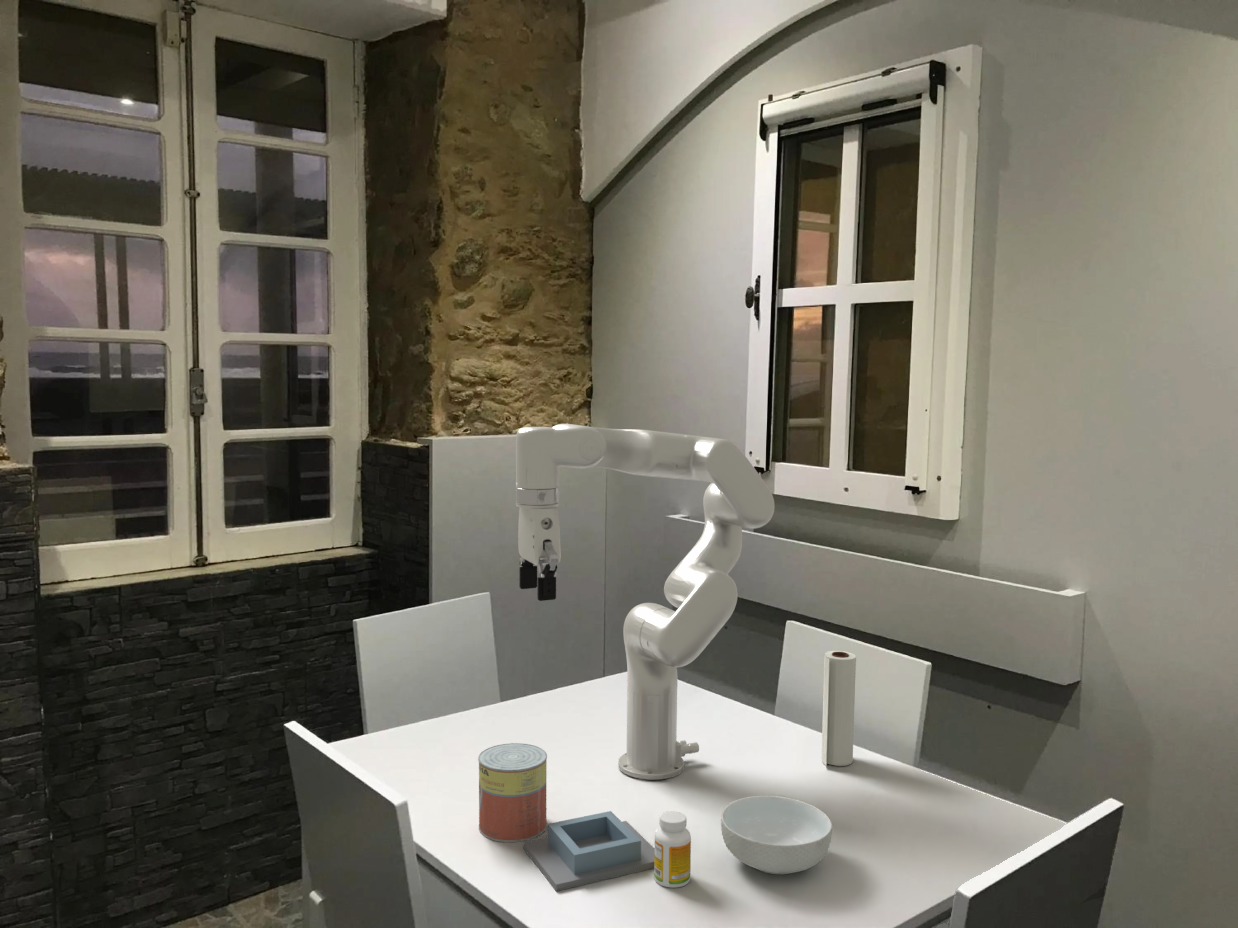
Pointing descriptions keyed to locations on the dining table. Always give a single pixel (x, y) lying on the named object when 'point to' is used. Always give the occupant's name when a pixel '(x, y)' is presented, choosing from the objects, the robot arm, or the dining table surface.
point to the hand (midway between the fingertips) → (537, 593)
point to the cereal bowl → (776, 833)
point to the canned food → (512, 792)
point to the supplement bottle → (672, 850)
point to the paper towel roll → (838, 708)
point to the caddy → (589, 850)
